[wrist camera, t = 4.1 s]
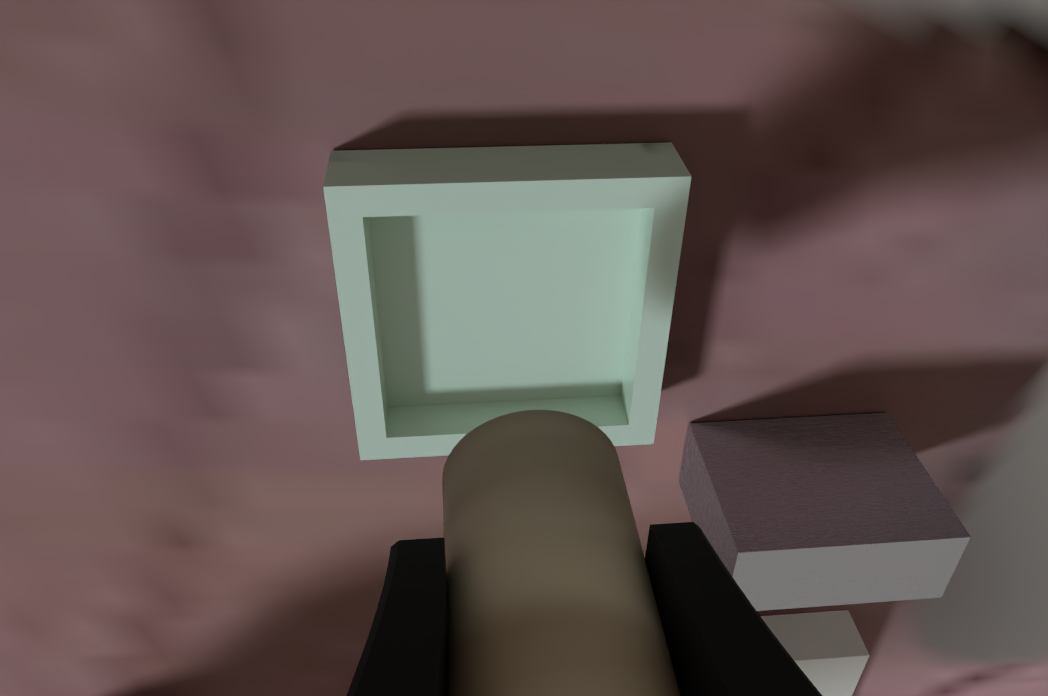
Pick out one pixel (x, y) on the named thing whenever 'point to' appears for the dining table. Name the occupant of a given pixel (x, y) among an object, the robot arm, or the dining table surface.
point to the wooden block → (820, 510)
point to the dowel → (547, 566)
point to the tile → (823, 648)
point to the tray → (504, 286)
